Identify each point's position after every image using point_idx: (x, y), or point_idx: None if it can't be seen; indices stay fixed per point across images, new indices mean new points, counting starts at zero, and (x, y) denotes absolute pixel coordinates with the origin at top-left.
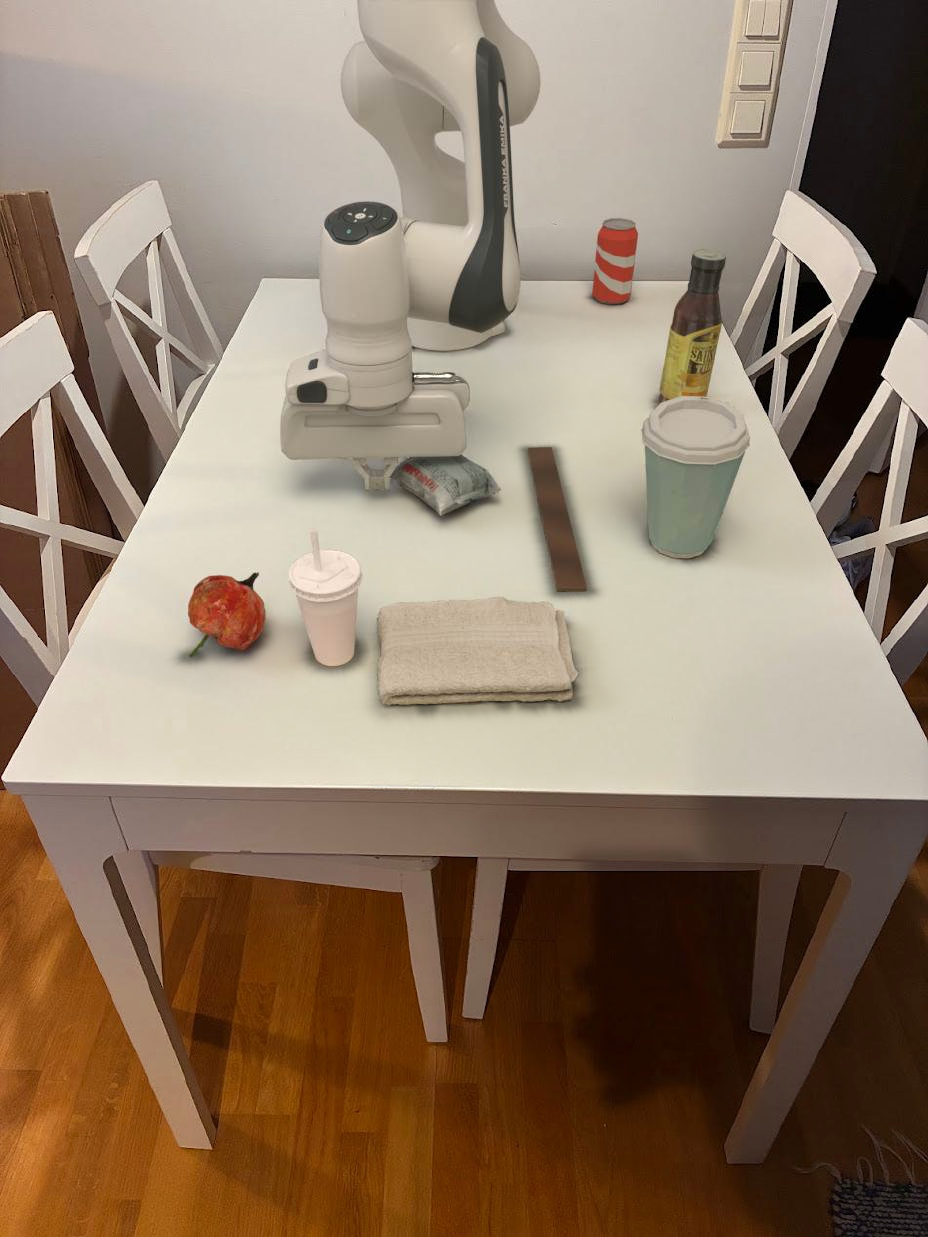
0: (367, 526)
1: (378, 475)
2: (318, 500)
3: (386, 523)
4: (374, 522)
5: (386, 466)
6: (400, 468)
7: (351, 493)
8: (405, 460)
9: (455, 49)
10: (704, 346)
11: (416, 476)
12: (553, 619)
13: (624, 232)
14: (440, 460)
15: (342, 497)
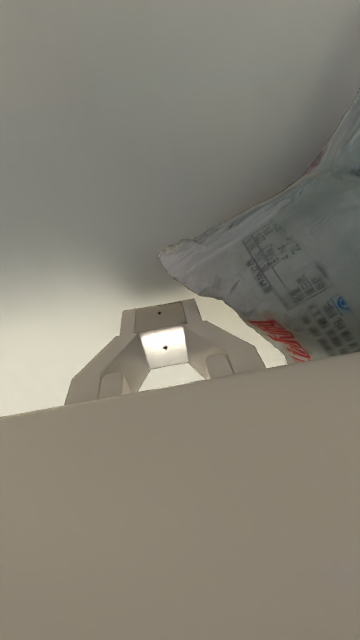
0: (157, 379)
1: (173, 354)
2: (8, 321)
3: (191, 367)
4: (168, 368)
5: (202, 355)
6: (243, 318)
7: (80, 281)
8: (269, 295)
9: None
10: None
11: (289, 349)
12: None
13: None
14: None
15: (64, 301)
